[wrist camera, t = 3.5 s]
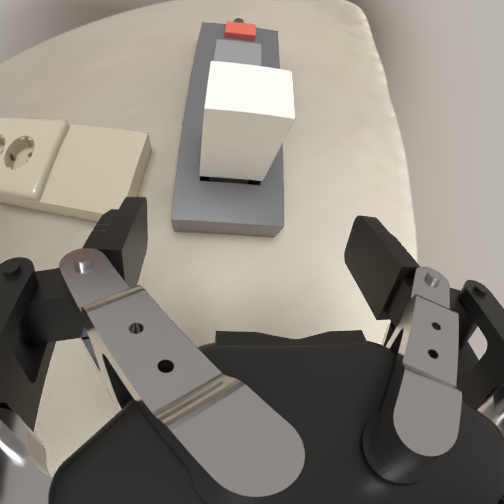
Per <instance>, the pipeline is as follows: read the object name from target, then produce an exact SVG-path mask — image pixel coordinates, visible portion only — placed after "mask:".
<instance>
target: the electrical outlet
mask: <svg viewBox="0 0 504 504" xmlns="http://www.w3.org/2000/svg"><path fill="white" fill-rule="evenodd" d="M151 151H152V149H151V145H150V140H149V135H148V133H143V132H136V131H129V130H121V129H113V128H104V127H94V126H84V125H73V124H68V122H67V121H66V120H56V119H38V118H0V203H4V204H9V205H14V206H19V207H24V208H29V209H34V210H39V211H45V212H50V213H55V214H60V215H65V216H70V217H75V218H80V219H85V220H90V221H95V222H98V221H99V219H100V218H101V216H102V215H103V214H105V213H106V212H108V211H109V210H111V209H119V207H120V206H121V204H122V202H123V200H124V199H125V197H137V195H138V192H139V188H140V185H141V182H142V179H143V175H144V172H145V169H146V166H147V163H148V160H149V157H150V154H151Z"/></svg>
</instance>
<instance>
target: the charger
mask: <svg viewBox="0 0 504 504" xmlns="http://www.w3.org/2000/svg"><path fill="white" fill-rule="evenodd" d="M294 120H295V113H294V97H293V84H292V71H288V70H282V69H276V68H270V67H263V66H256V65H248V64H239V63H230V62H220V61H211V63H210V70H209V77H208V85H207V92H206V100H205V108H204V119H203V131H202V143H201V157H200V172H199V176H207V177H209V181H211V182H225V183H238V184H248V181H249V180H257V181H263V180H264V178H265V176H266V174H267V172H268V170H269V168H270V166H271V164H272V162H273V160H274V158H275V156H276V154H277V152H278V150H279V148H280V146H281V145H282V143H283V141H284V139H285V137H286V135H287V133H288V131H289V129H290V127H291V125H292V123H293V121H294Z"/></svg>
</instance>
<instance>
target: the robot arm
mask: <svg viewBox="0 0 504 504" xmlns="http://www.w3.org/2000/svg"><path fill="white" fill-rule="evenodd" d="M147 240H148V234H147V200H146V197H125V199H124V200H123V202H122V204H121V206H120V207H119V209H111V210H109V211H108V212H106V213H105V214H103V215H102V216H101V218H100V219H99V221H98V222H97V225H96V226H95V227H94V229H93V231H92V232H91V234H90V236H89V237H88V239H87V241H86V242H85V244H84V246H83V248H82V249H77V250H74V251H72V252H70V253H68V254H67V255H65V256H64V257H63V258H62V259H61V261H60V264H59V268H56V269H51V270H44V271H37V272H35V269H34V265H33V263H32V261H30V260H29V259H27V258H22V257H19V258H13V259H9V260H7V261H5V262H3V263H1V264H0V504H504V309H503V307H502V306H501V305H500V304H499V302H498V301H497V300H496V298H495V297H494V296H493V295H492V293H491V292H490V291H489V290H488V289H487V288H486V287H485V286H484V285H482V284H481V283H479V282H476V281H473V280H467V281H466V282H465V284H464V286H463V288H462V290H461V291H460V290H456V289H453V288H450V286H449V282H448V281H447V279H446V278H445V277H444V276H443V275H442V274H440V273H439V272H437V271H436V270H434V269H431V268H428V267H420V266H419V265H418V264H417V262H416V261H415V260H414V259H413V257H412V256H411V255H410V254H409V253H408V252H406V251H407V250H406V249H405V248H404V247H403V246H401V245H402V244H401V243H400V242H399V241H398V240H397V239H396V237H394V236H393V235H392V234H390V233H389V232H388V230H387V229H386V228H385V227H384V226H383V225H382V224H381V222H380V221H379V220H378V219H377V218H375V217H368V216H357V217H356V219H355V221H354V224H353V227H352V230H351V233H350V236H349V239H348V242H347V245H346V249H345V254H344V258H345V263H346V265H347V267H348V269H349V271H350V272H351V274H352V276H353V278H354V279H355V281H356V283H357V285H358V287H359V288H360V290H361V292H362V294H363V296H364V297H365V299H366V301H367V303H368V305H369V307H370V309H371V310H372V312H373V314H374V316H375V318H376V320H387V319H390V320H391V321H390V323H389V325H388V327H387V329H386V332H385V335H384V338H383V341H382V344H381V345H380V344H377V343H374V342H370V341H366V339H365V337H364V335H363V332H362V330H355V331H330V332H326V333H322V334H318V335H314V336H310V337H306V338H302V339H289V338H283V337H278V336H273V335H268V334H263V333H258V332H230V331H216V335H215V343H211V344H207V345H203V346H200V347H196V346H195V345H194V344H193V343H192V342H191V341H190V340H189V338H188V337H187V336H186V335H185V334H184V333H183V332H182V331H181V330H180V329H179V328H178V327H177V325H176V324H175V323H174V322H173V321H172V320H171V319H170V318H169V317H168V315H167V314H166V313H165V312H164V311H163V310H162V309H161V308H160V306H159V305H158V304H157V303H156V302H155V301H154V300H153V298H152V297H151V296H150V295H149V294H148V293H147V291H146V290H145V289H144V288H143V287H142V286H140V285H138V286H137V283H138V279H139V275H140V272H141V268H142V265H143V261H144V258H145V254H146V250H147ZM477 326H478V327H479V328H480V330H481V331H482V333H483V334H484V336H485V337H486V339H487V343H488V345H487V350H486V352H485V354H484V355H483V356H482V358H481V359H480V360H478V358H477V356H476V355H475V353H474V351H473V350H472V348H471V346H470V345H469V343H468V340H469V338H470V337H471V335H472V334H473V332H474V331H475V330H476V328H477ZM74 338H80V341H81V343H82V344H83V346H84V348H85V350H86V352H87V354H88V356H89V357H90V359H91V361H92V363H93V365H94V366H95V368H96V370H97V372H98V373H99V375H100V377H101V378H102V380H103V382H104V384H105V386H106V388H107V390H108V392H109V394H110V396H111V398H112V400H113V401H114V403H115V405H116V407H117V408H118V410H119V411H120V412H118V413H117V414H116V415H115V416H114V417H113V418H112V419H111V420H110V421H109V422H108V423H106V424H105V425H104V426H103V427H102V428H101V429H100V430H99V431H98V432H97V433H95V434H94V435H93V436H92V437H91V438H90V439H89V440H88V441H87V442H85V443H84V444H83V445H82V446H81V447H80V448H79V449H78V450H77V451H75V452H74V453H73V454H72V455H71V456H70V457H69V458H68V459H66V460H65V461H64V462H63V463H62V464H61V466H60V467H59V468H58V470H57V471H56V473H55V475H54V477H51V476H50V474H49V472H48V469H47V464H46V452H45V448H44V446H43V444H42V442H41V441H40V439H39V438H38V437H37V436H36V435H35V434H34V433H33V432H34V427H35V421H36V417H37V412H38V407H39V403H40V398H41V394H42V390H43V386H44V382H45V378H46V374H47V371H48V367H49V363H50V360H51V356H52V353H53V350H54V346H55V343H56V341H61V340H67V339H74Z"/></svg>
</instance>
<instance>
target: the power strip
mask: <svg viewBox="0 0 504 504" xmlns="http://www.w3.org/2000/svg"><path fill="white" fill-rule="evenodd" d="M211 61H220V62H230V63H239V64H248V65H256V66H263V67H270V68H276V69H280V64H279V45H278V31H274V30H267V29H261V28H256V25H254V24H246V23H244V21H243V20H242V19H240V18H237V19H235V20H234V22H228V21H227V22H226V24H218V23H204V22H202V25H201V30H200V34H199V39H198V44H197V49H196V54H195V59H194V64H193V69H192V74H191V80H190V85H189V91H188V97H187V103H186V109H185V115H184V121H183V128H182V135H181V142H180V149H179V157H178V164H177V173H176V181H175V190H174V199H173V209H172V224H173V229H174V231H185V232H202V233H219V234H236V235H251V236H267V237H275V236H276V235H277V233H278V232H279V231H280V230H281V229H282V228H283V227H284V182H283V143H282V145H281V146H280V148H279V150H278V152H277V154H276V156H275V158H274V160H273V162H272V164H271V166H270V168H269V170H268V172H267V174H266V176H265V178H264V180H263V181H257V180H254V185H249V184H238V183H225V182H211V181H200V176H199V172H200V157H201V143H202V131H203V119H204V108H205V100H206V92H207V85H208V77H209V70H210V63H211Z"/></svg>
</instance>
